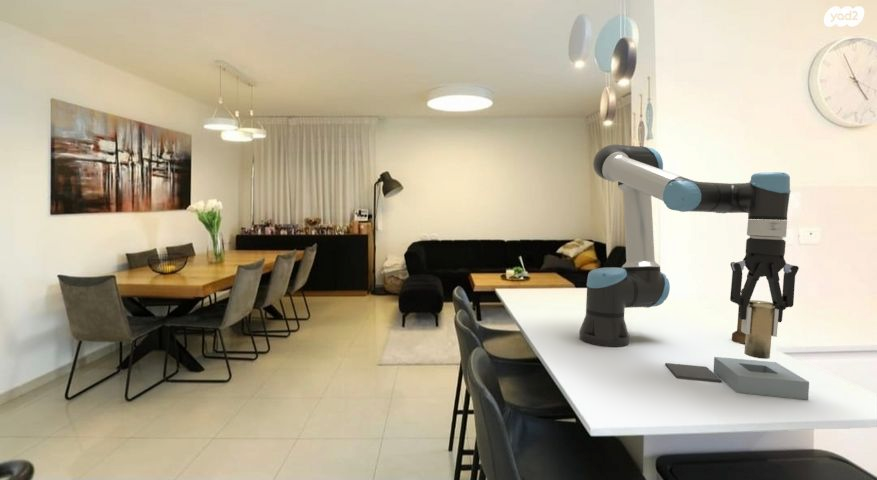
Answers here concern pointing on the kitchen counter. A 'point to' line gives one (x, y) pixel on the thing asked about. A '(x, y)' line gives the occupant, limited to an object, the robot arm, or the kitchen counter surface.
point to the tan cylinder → (760, 329)
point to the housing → (761, 378)
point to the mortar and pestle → (739, 332)
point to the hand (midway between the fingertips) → (758, 333)
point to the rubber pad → (692, 372)
